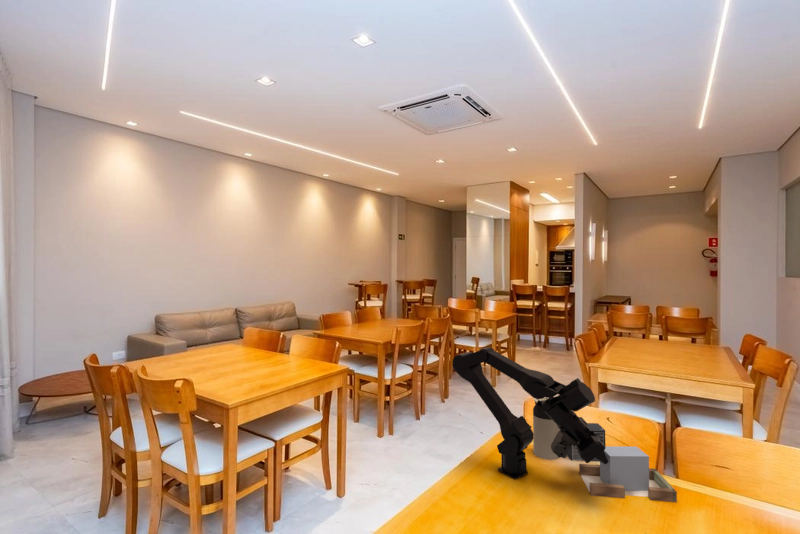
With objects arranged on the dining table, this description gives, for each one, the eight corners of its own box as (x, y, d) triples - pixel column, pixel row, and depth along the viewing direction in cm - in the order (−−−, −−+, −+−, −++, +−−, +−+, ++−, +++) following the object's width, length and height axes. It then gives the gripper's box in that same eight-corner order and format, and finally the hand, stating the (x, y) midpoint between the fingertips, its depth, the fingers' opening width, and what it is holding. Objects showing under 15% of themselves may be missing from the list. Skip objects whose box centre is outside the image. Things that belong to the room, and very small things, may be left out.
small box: (598, 455, 131) (598, 422, 131) (606, 465, 125) (606, 430, 125) (564, 454, 132) (563, 421, 132) (570, 463, 126) (570, 429, 126)
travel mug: (557, 465, 125) (556, 405, 125) (530, 458, 129) (529, 401, 129) (562, 455, 132) (562, 398, 132) (537, 449, 136) (536, 394, 136)
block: (610, 490, 109) (610, 456, 109) (600, 478, 115) (599, 446, 115) (649, 490, 109) (648, 456, 109) (636, 479, 115) (636, 446, 115)
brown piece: (597, 510, 102) (597, 496, 102) (574, 467, 123) (574, 455, 123) (687, 518, 98) (687, 503, 98) (647, 472, 120) (647, 460, 120)
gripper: (536, 423, 122) (574, 465, 120) (547, 450, 104) (593, 500, 102) (565, 399, 121) (604, 441, 119) (582, 422, 103) (628, 472, 101)
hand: (606, 462), depth 110 cm, fingers closed
